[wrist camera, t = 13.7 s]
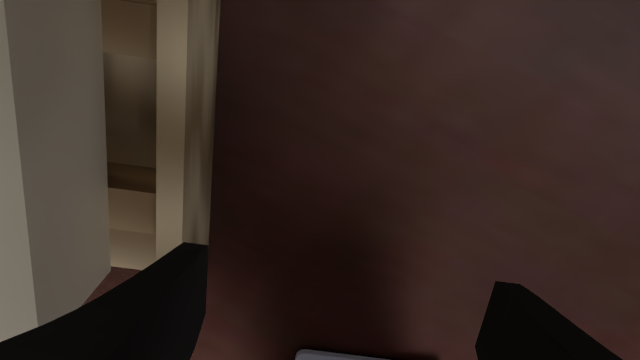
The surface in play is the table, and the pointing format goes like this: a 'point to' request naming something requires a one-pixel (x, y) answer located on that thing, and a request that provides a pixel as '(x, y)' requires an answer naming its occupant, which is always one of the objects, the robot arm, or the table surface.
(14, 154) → the grayish beige rectangular block
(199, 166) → the wooden compartment tray
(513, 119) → the table surface
